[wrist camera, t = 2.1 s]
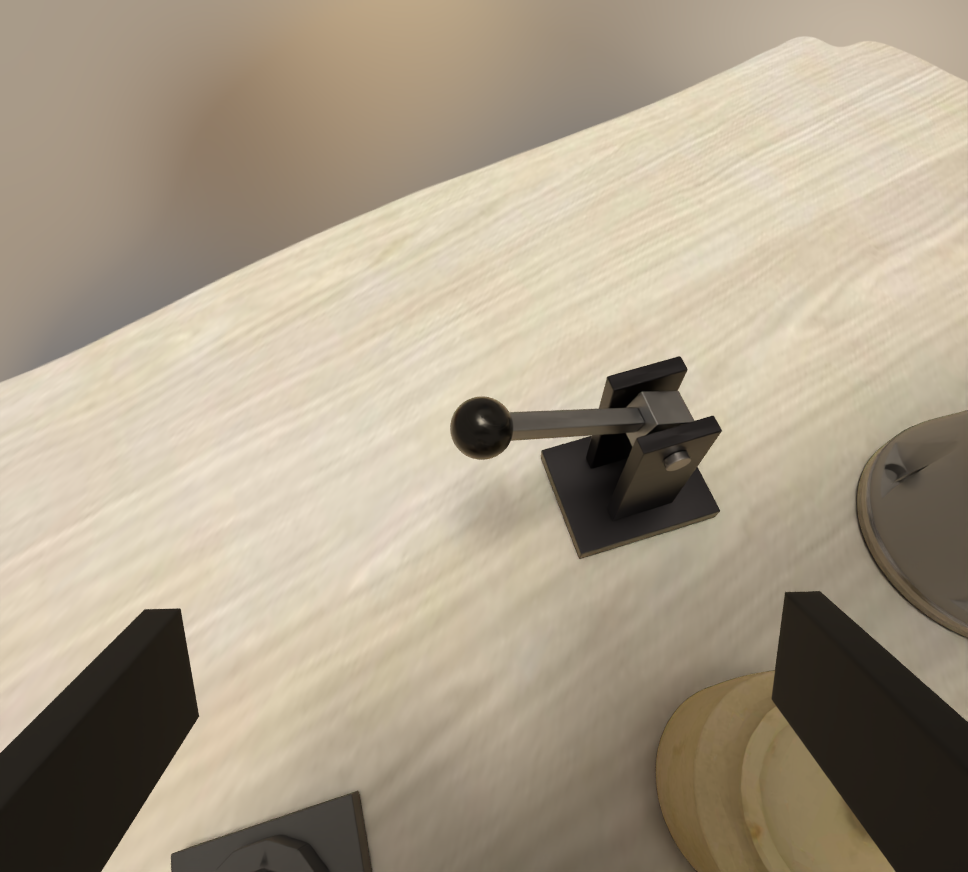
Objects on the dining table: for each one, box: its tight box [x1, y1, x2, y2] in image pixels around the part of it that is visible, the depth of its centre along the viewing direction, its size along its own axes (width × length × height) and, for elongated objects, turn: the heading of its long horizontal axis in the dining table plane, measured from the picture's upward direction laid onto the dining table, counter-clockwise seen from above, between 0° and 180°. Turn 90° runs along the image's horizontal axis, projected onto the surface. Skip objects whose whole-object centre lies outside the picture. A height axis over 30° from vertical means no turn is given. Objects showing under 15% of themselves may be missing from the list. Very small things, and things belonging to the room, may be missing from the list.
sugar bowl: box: [656, 670, 895, 872], centre depth 25 cm, size 15×11×15 cm
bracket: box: [541, 356, 722, 558], centre depth 36 cm, size 10×8×12 cm
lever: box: [450, 391, 694, 460], centre depth 30 cm, size 14×3×3 cm, turn 107°
